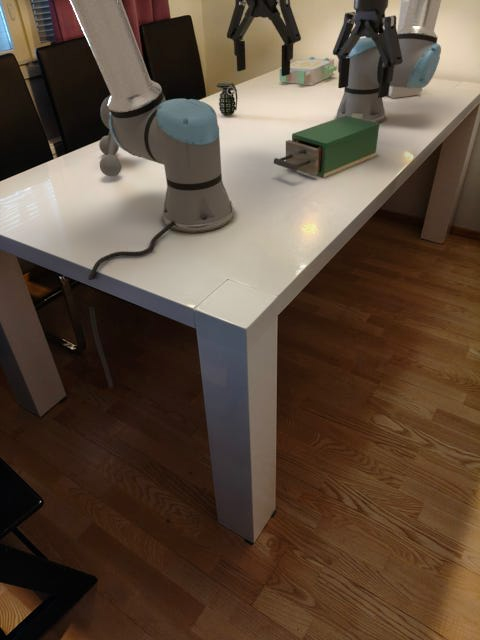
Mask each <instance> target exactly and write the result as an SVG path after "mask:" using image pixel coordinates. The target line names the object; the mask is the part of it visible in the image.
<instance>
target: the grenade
mask: <svg viewBox="0 0 480 640" xmlns="http://www.w3.org/2000/svg"><path fill="white" fill-rule="evenodd" d="M215 87H217V88H219V89H221V93H219V97H218V101H219V102H218V106H219V108H218V109H219V112H220V114H221V115H222V116H224V117H231V116H233V115H234V113H235V112H236V111H237V108H238V89H237V87H236V85H235V84H234V83H233V82H218V83H217V84H216V86H215ZM232 91H233V92H232ZM234 94H235V96H234Z"/></svg>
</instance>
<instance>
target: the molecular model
mask: <svg viewBox="0 0 480 640" xmlns="http://www.w3.org/2000/svg"><path fill="white" fill-rule="evenodd" d="M110 96H111V94H109V95H108V96H107V97H105V99H103V101H102V103H101V106H100V113H99V114H100V118H101V121H102V123H103V124H104V126H105V127H106V128H107V129H108V130H109V131H108V135H104V136H102V137H101V138H100V140H99V143H98V145H99V151H101V153H102V154H104V156H102V157H101V158H100V161H99V169H100V172H101V173H102V174H103V175H105V176H106V177H110V178H113V177H116V176H118V175H119V174H120V173H121V170H122V162H121V160H120V159H119V157H118V156H116V154H117V153H118V152H119V149H120V147H119V146H118V145H117V144H116V142H115V141H114V139H113V137H112V135H111V133H110V129H109V120H110V115H109V114H110V110H109V108H108V101H109V99H110Z"/></svg>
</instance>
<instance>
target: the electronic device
mask: <svg viewBox="0 0 480 640" xmlns="http://www.w3.org/2000/svg"><path fill="white" fill-rule="evenodd" d="M408 4H409V0H401V1H400V8H399V14H398V15H399V16H398V24H397V29H396V30H397V33H398V32H400V31H401V30H402V29H403V27H404V23H405V18H406V13H407V9H408ZM422 92H423V88H411V89H409V88H404V87H393V86H389V94H388V96H387V97H390V98H393V99H396V98H397V99H399V98H404V97H405V98H406V97H412V96H419V95H420V94H421V93H422Z"/></svg>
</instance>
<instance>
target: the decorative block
mask: <svg viewBox="0 0 480 640" xmlns="http://www.w3.org/2000/svg"><path fill="white" fill-rule="evenodd" d="M336 71H338V65H337V66H336V65H335V59H334V58H329V57H325V58H323V57H322V58H321V57H314V56H310V57H308V58H305V59H300V60H297V61H294V62H292V63H291V62H290V74H289V75H286V76H281V68H279V83H288V84H289V83H290V84H298V85H307V86H313V85H316V84H318V83H320V82H323V81H325V80H327V79H329V78H331V76H332V75H334V72H336Z"/></svg>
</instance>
